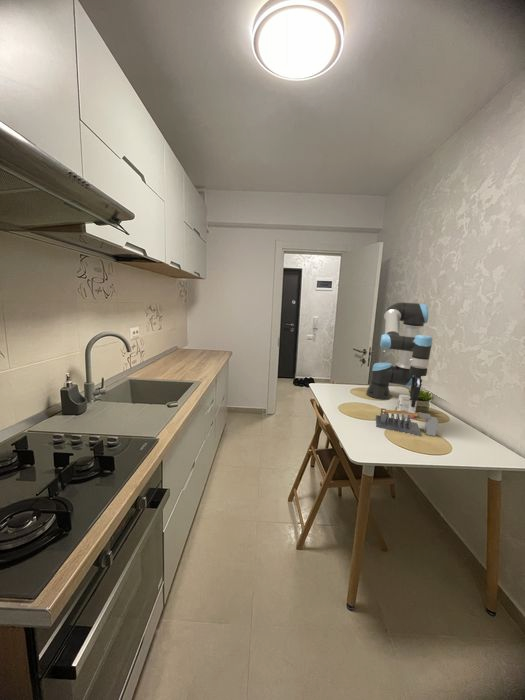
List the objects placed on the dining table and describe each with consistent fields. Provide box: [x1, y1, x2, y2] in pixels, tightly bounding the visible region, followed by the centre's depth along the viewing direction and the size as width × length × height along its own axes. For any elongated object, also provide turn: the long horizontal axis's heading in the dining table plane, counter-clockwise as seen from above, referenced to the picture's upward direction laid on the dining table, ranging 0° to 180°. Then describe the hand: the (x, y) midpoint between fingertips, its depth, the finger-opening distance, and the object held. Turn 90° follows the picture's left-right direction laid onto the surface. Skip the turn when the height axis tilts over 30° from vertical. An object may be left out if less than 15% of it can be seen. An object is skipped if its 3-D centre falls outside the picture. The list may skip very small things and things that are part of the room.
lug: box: [417, 411, 439, 437], centre depth 140 cm, size 5×8×9 cm, turn 69°
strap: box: [382, 408, 419, 417], centre depth 144 cm, size 4×16×2 cm, turn 69°
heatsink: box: [375, 407, 422, 437], centre depth 144 cm, size 12×20×7 cm, turn 69°
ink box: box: [396, 394, 418, 419], centre depth 161 cm, size 9×5×12 cm, turn 84°
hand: (411, 412), depth 141 cm, fingers closed
